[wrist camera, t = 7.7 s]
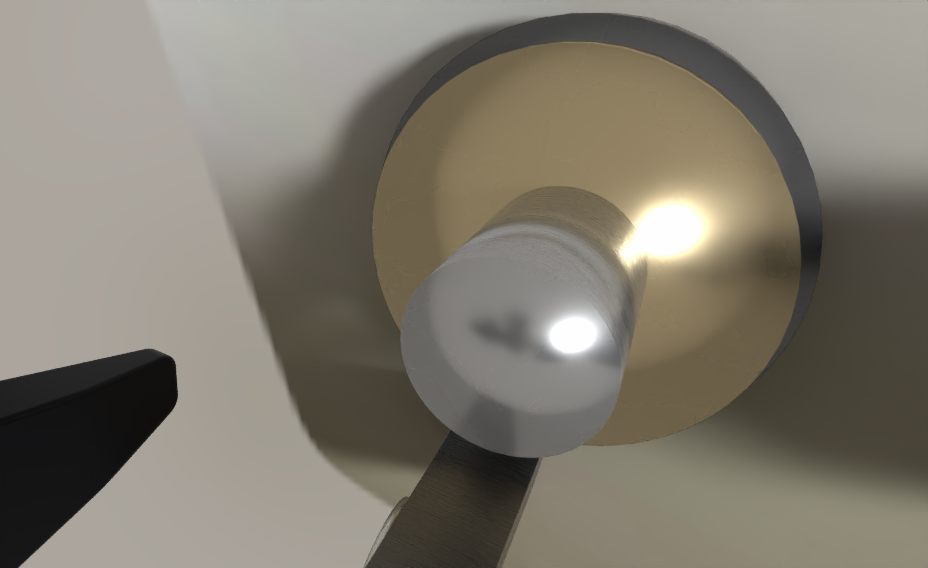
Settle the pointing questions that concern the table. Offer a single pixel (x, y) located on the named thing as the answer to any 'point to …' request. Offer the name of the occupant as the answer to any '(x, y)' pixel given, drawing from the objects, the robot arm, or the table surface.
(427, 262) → the pan
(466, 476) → the base
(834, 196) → the table surface
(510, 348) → the cylinder
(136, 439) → the robot arm
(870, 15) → the table surface
